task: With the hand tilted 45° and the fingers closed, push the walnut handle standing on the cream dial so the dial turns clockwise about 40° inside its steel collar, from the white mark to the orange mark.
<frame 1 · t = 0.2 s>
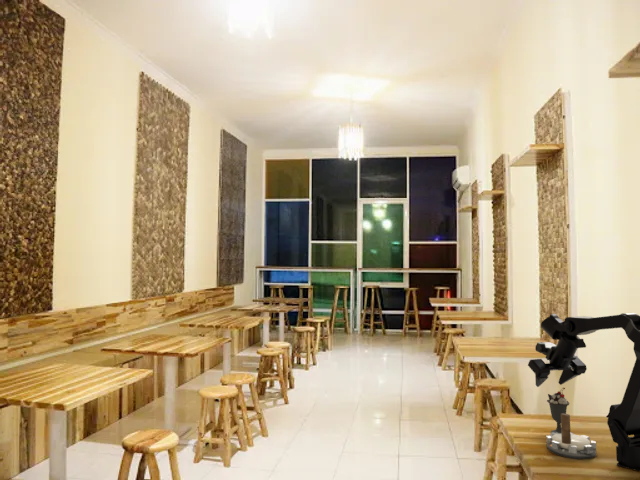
hand: (548, 384, 163), 15 cm above the table, tool tilted 30°, fingers open, 9 cm apart
dial plate: (571, 450, 144), on the table
sundae: (559, 433, 159), on the table
dial: (570, 428, 144), point 7 cm above the table, hinge at 0.0°
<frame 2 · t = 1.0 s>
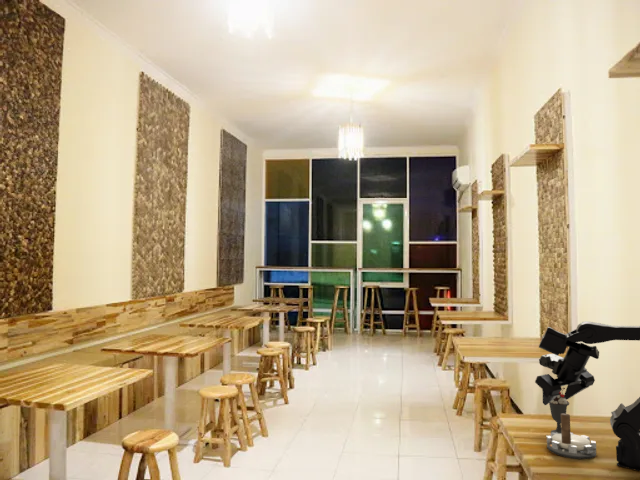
hand: (555, 401, 147), 14 cm above the table, tool tilted 30°, fingers open, 9 cm apart
nothing on the table moved.
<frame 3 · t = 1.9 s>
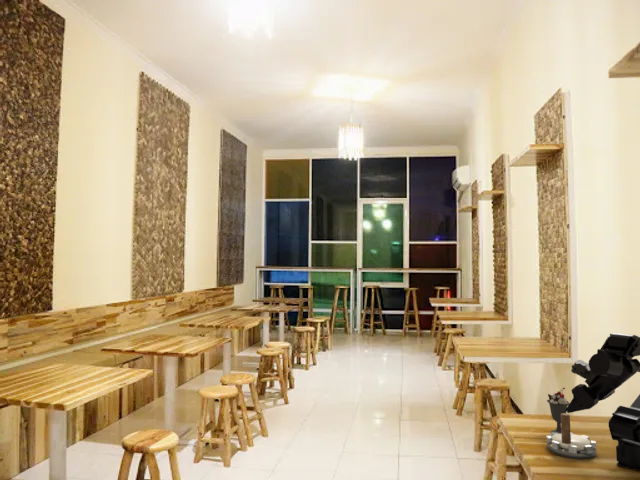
hand: (572, 407, 141), 14 cm above the table, tool tilted 45°, fingers open, 9 cm apart
nothing on the table moved.
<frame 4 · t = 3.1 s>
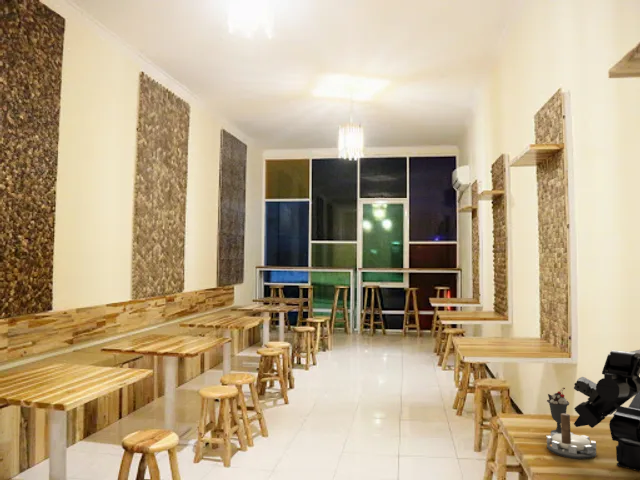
hand: (575, 425, 140), 9 cm above the table, tool tilted 45°, fingers closed
nothing on the table moved.
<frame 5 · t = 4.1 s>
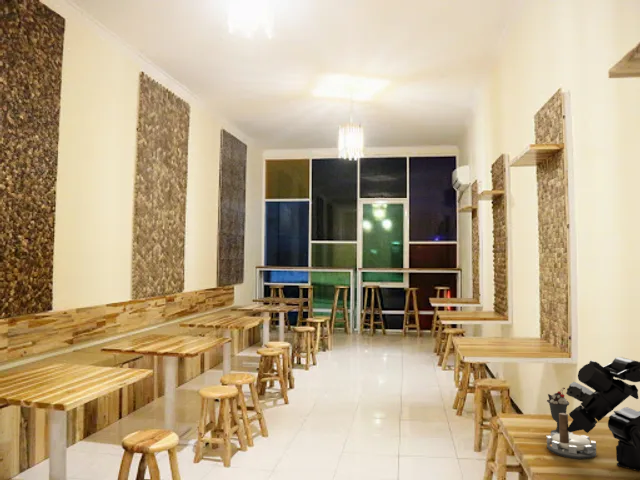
hand: (568, 430, 141), 7 cm above the table, tool tilted 45°, fingers closed, pressing on dial
dial: (570, 428, 144), point 7 cm above the table, hinge at -9.0°, touching gripper
everything else where it was.
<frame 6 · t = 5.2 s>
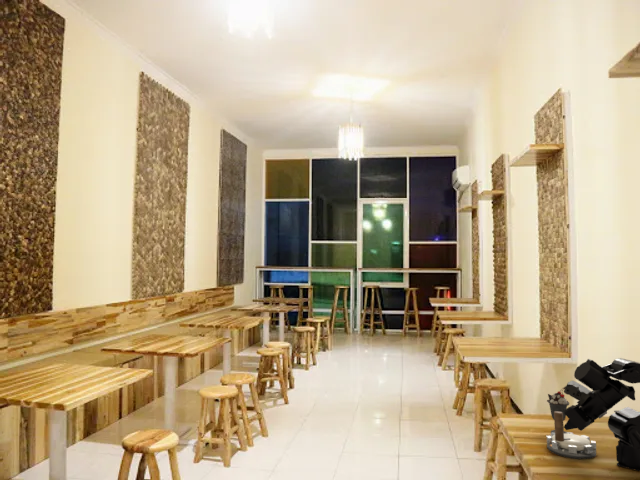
hand: (565, 428, 142), 7 cm above the table, tool tilted 45°, fingers closed
dial: (570, 428, 144), point 7 cm above the table, hinge at -36.7°
everything else where it was.
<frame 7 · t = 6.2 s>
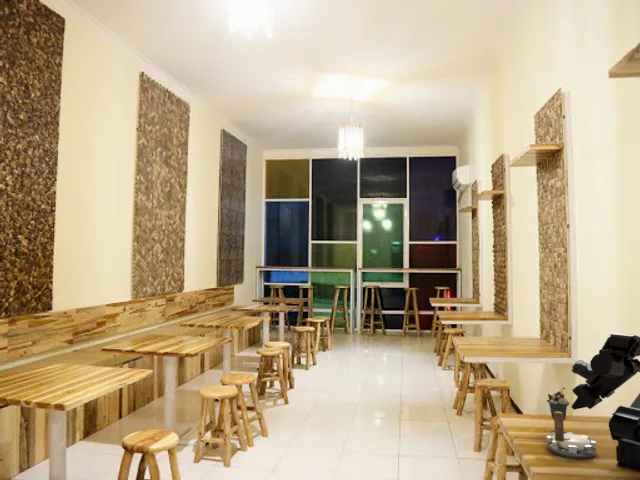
hand: (572, 408, 141), 14 cm above the table, tool tilted 45°, fingers closed
nothing on the table moved.
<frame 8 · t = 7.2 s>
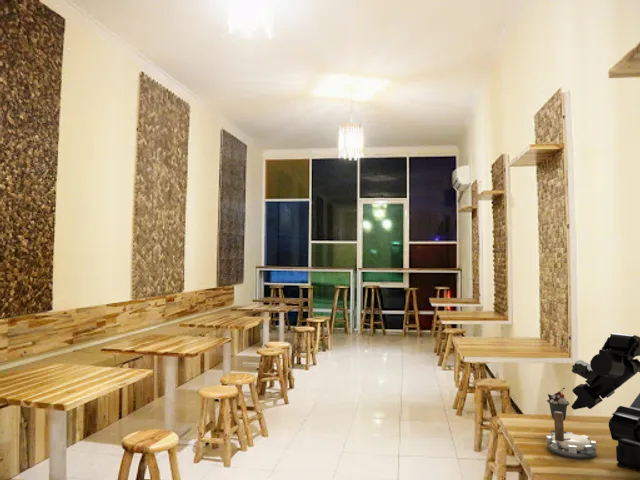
hand: (572, 408, 141), 14 cm above the table, tool tilted 45°, fingers closed
nothing on the table moved.
at the end: dial at -37° (first picture: +0°); sundae moved 0.2 cm from its start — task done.
